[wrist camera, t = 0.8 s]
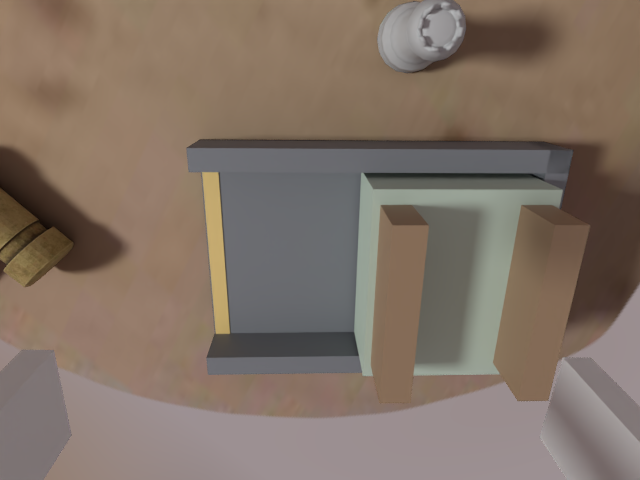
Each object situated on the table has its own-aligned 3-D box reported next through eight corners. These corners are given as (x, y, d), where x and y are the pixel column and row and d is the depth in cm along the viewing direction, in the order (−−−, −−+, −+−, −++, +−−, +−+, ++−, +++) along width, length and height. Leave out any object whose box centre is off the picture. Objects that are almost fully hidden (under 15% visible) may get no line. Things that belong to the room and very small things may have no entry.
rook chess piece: (366, 20, 30) (387, 2, 23) (428, -9, 30) (470, -37, 22) (389, 83, 32) (415, 86, 24) (447, 57, 31) (493, 51, 24)
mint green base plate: (361, 169, 33) (384, 207, 23) (519, 170, 33) (603, 207, 24) (354, 331, 38) (370, 415, 28) (491, 329, 38) (552, 412, 29)
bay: (199, 139, 33) (186, 147, 29) (543, 141, 33) (573, 150, 30) (217, 345, 39) (208, 374, 35) (505, 342, 40) (526, 370, 36)
